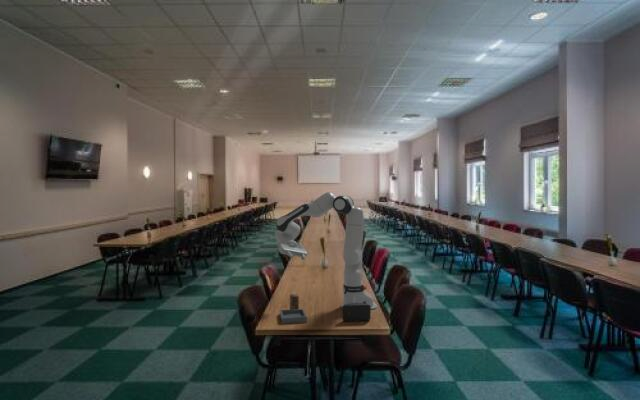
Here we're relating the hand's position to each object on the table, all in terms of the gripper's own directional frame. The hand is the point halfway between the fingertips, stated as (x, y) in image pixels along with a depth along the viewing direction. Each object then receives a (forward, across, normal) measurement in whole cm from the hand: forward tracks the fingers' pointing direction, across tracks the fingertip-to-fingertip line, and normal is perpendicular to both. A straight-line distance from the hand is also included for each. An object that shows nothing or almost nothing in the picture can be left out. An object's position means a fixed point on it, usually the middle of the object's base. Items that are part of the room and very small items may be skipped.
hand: (298, 257), depth 227 cm
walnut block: (+17, +3, +28) cm, 33 cm away
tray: (+26, -4, +25) cm, 37 cm away
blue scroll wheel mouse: (+47, +21, +9) cm, 52 cm away
